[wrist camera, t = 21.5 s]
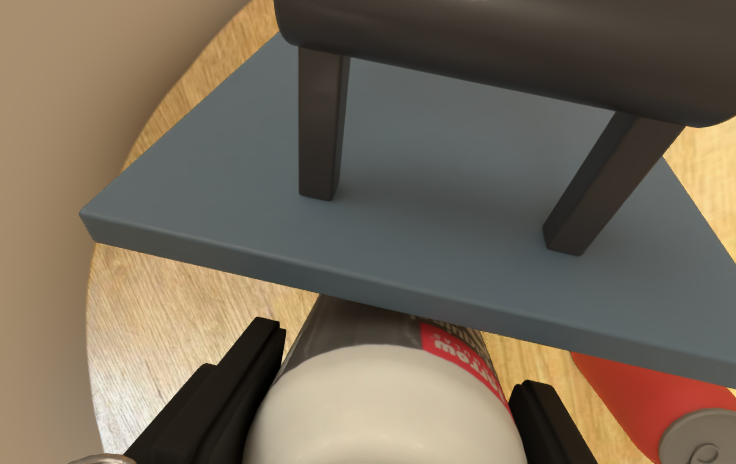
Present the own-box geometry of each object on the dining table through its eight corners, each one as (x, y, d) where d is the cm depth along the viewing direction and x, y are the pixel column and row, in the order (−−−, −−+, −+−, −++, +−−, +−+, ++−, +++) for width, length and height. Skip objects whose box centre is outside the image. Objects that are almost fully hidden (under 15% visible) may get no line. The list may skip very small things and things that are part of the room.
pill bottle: (483, 253, 13) (700, 589, 3) (454, 388, 14) (550, 888, 5) (326, 231, 13) (129, 481, 4) (313, 365, 15) (146, 791, 5)
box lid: (774, 399, 7) (1416, 123, 3) (92, 243, 7) (-148, -175, 3) (581, 67, 18) (660, -83, 14) (317, 14, 18) (322, -145, 14)
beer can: (554, 360, 34) (630, 475, 23) (588, 297, 33) (689, 388, 21) (623, 384, 34) (734, 511, 23) (661, 322, 33) (802, 426, 21)
